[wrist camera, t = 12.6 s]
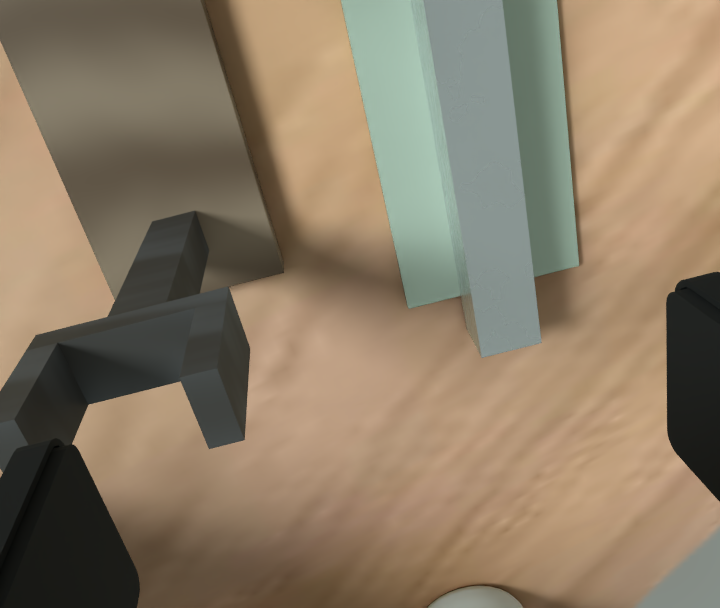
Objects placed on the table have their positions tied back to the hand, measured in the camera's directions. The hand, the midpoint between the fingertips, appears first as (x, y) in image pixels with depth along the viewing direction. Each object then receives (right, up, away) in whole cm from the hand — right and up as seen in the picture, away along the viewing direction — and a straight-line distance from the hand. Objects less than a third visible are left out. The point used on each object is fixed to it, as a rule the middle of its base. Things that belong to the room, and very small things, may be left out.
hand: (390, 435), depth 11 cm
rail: (+4, +11, +20) cm, 23 cm away
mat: (+4, +12, +20) cm, 24 cm away
